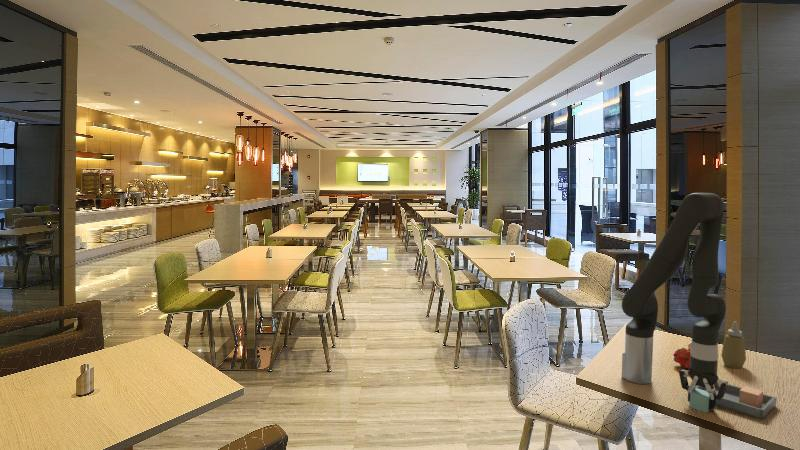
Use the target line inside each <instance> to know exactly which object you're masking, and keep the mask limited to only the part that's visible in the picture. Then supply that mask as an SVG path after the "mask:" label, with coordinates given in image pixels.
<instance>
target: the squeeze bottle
mask: <svg viewBox="0 0 800 450" xmlns="http://www.w3.org/2000/svg"><path fill="white" fill-rule="evenodd" d="M739 329H740V328H739V324H738V321H735V320H734V321H733V323H732V325H731V328H729V329H728V330H727V334H724V339H723V344H722V349H721V358H722V362H723V364H724V366H726V367H729V368H731V369H732V368H733V369H742V368H743V367H744V364H745V362H746V360H747V354H746V353H747V352H746V338H745V337H744V336H743V330H742V331H741V330H739Z"/></svg>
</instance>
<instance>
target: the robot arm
mask: <svg viewBox="0 0 800 450" xmlns="http://www.w3.org/2000/svg"><path fill="white" fill-rule="evenodd" d="M724 207H725V206H724V201H723V199H722V198H721V196H719V195H718V194H716V193H713V192H693V193H690V194H688V195H686V196H685V197H684V198H683V200H682V201H681V203H680V204H679V207H678V208H677V210H676V213H675V215H674V217H673V219H672V221H671V223H670V225H669V227H668V229H667V231H666V232H665V234H664V235H663V237H662V239H661V240H660V242H659V243H658V245H657V246H656V248H655V250H654V251H653V253H652V255H651V256H650V258H649V260H648V261H647V263H646V265H645V266H644V268H643V270H642V271H641V273H640V274H639V276H638V277H637V279H636V280H635V282H634V283H633V284H632V285H631V287H630V288H629V289H628V290H627V292H625V294H624V296H623V298H622V300H621V310H622V311H623V313H624V314H625V315H626V316H628V317H630V318H632V319H631V320H630V321H629V322H628V323H627V324H626V326H625V337H624V338H625V340H624V341H625V342H624V351H623V352H622V355H621V378H623V379H625V380H626V381H628V382H631V383H634V384H638V385H647V384H651V383H652V380H653V379H652V377H653V353H654V333H655V330H656V329H657V323H658V313H659V312H658V311H659V302H658V299H657V297H656V295H655V294H654V293H655V292H656V291H657V290H658V289H659V288H660V287H661V286H663V285H664V284H665V283H666V282H668V281H669V280H671V279H672V278H673V277H674V276H675V275H676V273H677V272H678V271H679V269H680V268H681V267H682V265H683V263H684V262H685V260H686V258H687V256H688V249H689V248H688V245H689V239H690V237H691V235H692V233H693V232H694V231H695V229H696V227H697V226H700V227H699V228H700V231H699V239H698V242H697V245H696V247H695V250H694V252H693V256H692V260H691V264H692V265H691V267H692V269H691V270H692V281H691V282H692V283H691V285H690V289H689V292H688V297H687V308H688V309H687V310H688V311H689V312H690V314H691V315H692V316H694V317H696V318H702V319H701V320H700V321H698V322H695V323H694V324H693V325H692V330H691V331H692V333H691V345H690V349H691V351H690V369H688V370H686V369H685V368H681V370H679V371H678V374H679V379H680V385H681V388H682V389H683V390H685V391H687V401H688V402H689V403H690V392H692V391H693V390H695V388H696V386H702V387H704V388H706V390H707V392H708V393H709V396H710V399H709V410H710V411H713V410H714V409H716V407H717V405H716V399H718V400H720V399H721V398H723V397H724V394H725V391H726V389H727V386H728V384H729V382H728V381H727V380H722V379H720V377H719V376H718V364H719V361H718V360H719V345H718V344H719V331H720V328H721V327H722V324H723V321H724V318H725V316H726V312H727V305H726V302H725V300H724V298H723V297H722V296H720V295H718V294H716V293H712V294H711V293H710V294H708V293H709V290H710V289H713V288H715V287H717V286H718V285H719V284H720V283H719V281H720V280H719V279H720V277H719V249H720V248H719V247H720V241H721V240H720V237H721V233H722V224H723V218H724V213H725V212H724V211H725V209H724ZM688 376H689V377H690V379H691V380H692V381H691V383H690V384H689V381H688ZM716 382H718V386H719V387H720V389H719V391H718V394H716V392H715V387H714V384H715V383H716Z"/></svg>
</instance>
